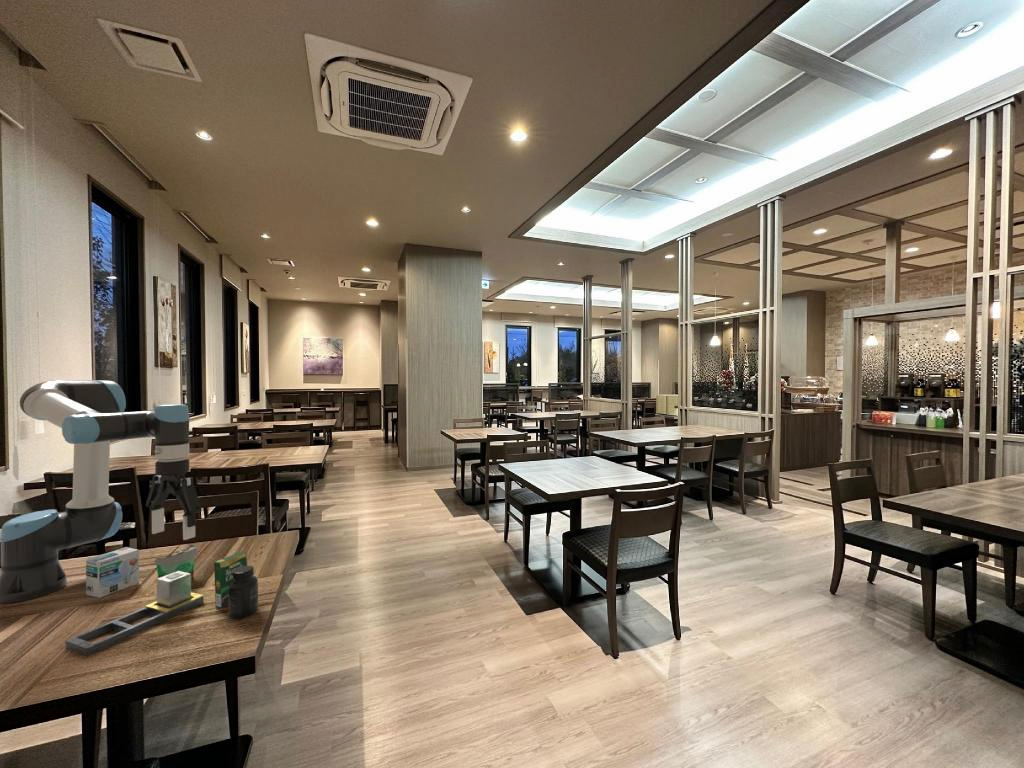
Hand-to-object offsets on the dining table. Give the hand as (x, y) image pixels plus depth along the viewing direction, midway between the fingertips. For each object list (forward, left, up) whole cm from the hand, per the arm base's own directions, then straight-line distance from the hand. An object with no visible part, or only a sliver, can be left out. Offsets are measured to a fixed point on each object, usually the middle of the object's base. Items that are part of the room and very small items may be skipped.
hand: (173, 535), depth 120 cm
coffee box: (+12, +8, -21) cm, 25 cm away
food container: (-15, +11, -21) cm, 28 cm away
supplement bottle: (+21, +5, -21) cm, 30 cm away
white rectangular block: (0, 0, -21) cm, 21 cm away
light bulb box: (-31, +1, -21) cm, 37 cm away
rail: (0, -8, -20) cm, 22 cm away
